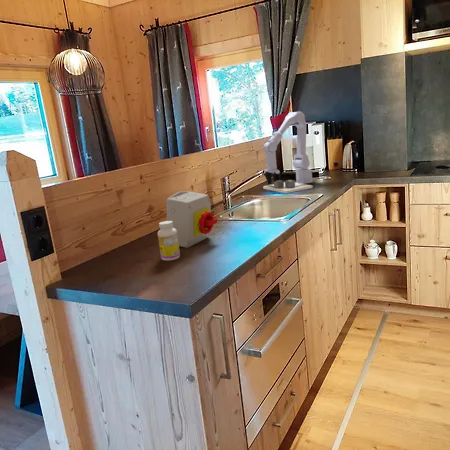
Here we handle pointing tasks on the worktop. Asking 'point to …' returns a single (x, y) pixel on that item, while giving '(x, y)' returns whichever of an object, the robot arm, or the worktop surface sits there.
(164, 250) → the supplement bottle
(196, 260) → the worktop surface
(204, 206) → the electrical switch box
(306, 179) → the robot arm
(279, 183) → the slider
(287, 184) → the slider
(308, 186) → the panel
